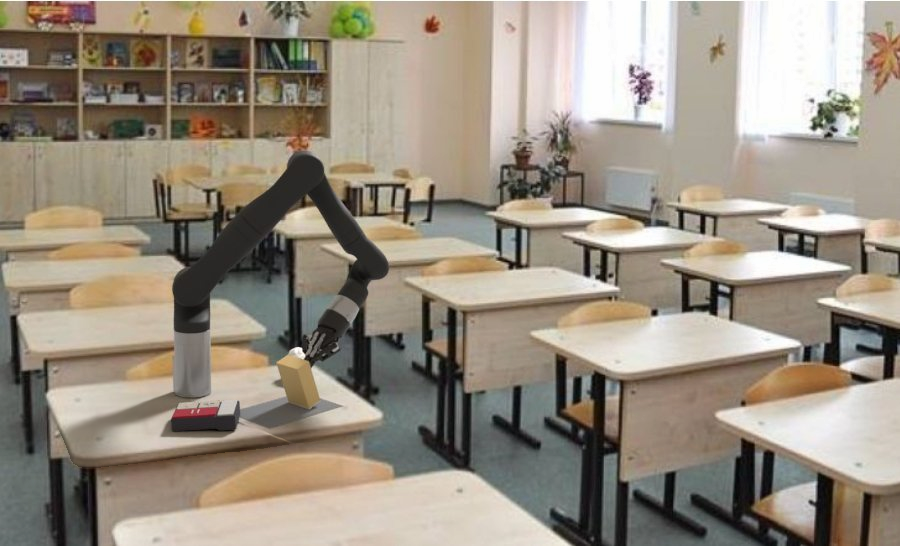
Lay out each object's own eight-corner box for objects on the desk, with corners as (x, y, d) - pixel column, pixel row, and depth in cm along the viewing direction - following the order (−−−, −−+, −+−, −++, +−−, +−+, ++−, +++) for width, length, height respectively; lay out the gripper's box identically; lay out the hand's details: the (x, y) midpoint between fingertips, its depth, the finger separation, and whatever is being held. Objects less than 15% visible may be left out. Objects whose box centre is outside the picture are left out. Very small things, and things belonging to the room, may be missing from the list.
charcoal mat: (228, 414, 263) (228, 412, 263) (301, 393, 281) (301, 391, 281) (270, 430, 253) (270, 428, 253) (343, 407, 271) (343, 405, 271)
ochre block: (288, 402, 272) (276, 362, 267) (299, 394, 275) (287, 354, 270) (309, 409, 267) (297, 369, 262) (320, 401, 270) (308, 361, 265)
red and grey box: (177, 401, 260) (239, 397, 261) (179, 417, 261) (240, 413, 262) (169, 416, 249) (234, 412, 250) (171, 434, 250) (236, 429, 251)
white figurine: (309, 345, 296) (308, 361, 284) (309, 373, 298) (308, 390, 287) (286, 345, 295) (284, 361, 284) (286, 373, 297) (284, 390, 286)
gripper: (314, 303, 278) (277, 357, 271) (349, 312, 269) (312, 368, 263) (328, 320, 283) (293, 373, 276) (363, 329, 274) (328, 384, 268)
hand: (302, 370), depth 269 cm, fingers closed
